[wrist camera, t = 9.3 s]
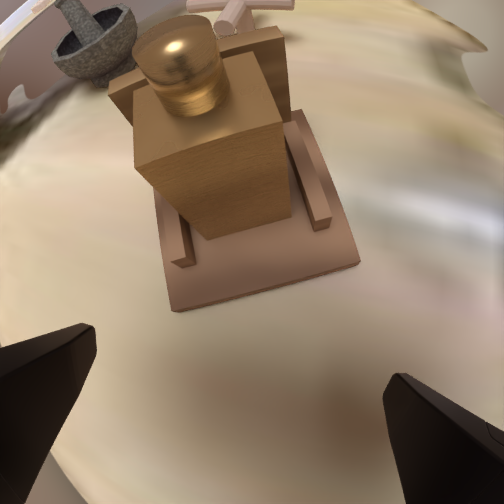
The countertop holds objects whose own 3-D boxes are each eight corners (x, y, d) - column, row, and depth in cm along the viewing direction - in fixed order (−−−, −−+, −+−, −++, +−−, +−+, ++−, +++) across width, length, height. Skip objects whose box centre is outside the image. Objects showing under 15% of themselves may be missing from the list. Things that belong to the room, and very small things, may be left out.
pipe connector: (288, 71, 24) (277, -23, 14) (187, 68, 26) (152, -9, 16) (302, 18, 26) (296, -55, 16) (217, 17, 28) (196, -48, 18)
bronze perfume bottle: (291, 217, 19) (274, 56, 7) (207, 241, 19) (90, 121, 7) (273, 159, 20) (240, -4, 8) (196, 182, 20) (102, 46, 9)
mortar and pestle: (164, 60, 27) (120, -25, 15) (92, 112, 26) (29, 40, 15) (131, 33, 30) (95, -31, 18) (73, 75, 30) (27, 17, 18)
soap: (44, 9, 47) (39, 3, 44) (33, 15, 48) (29, 9, 45) (61, -8, 49) (57, -14, 46) (50, -2, 50) (46, -8, 47)
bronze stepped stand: (357, 265, 19) (410, 200, 9) (178, 312, 20) (79, 292, 10) (301, 118, 22) (296, 10, 12) (156, 162, 23) (88, 79, 13)
